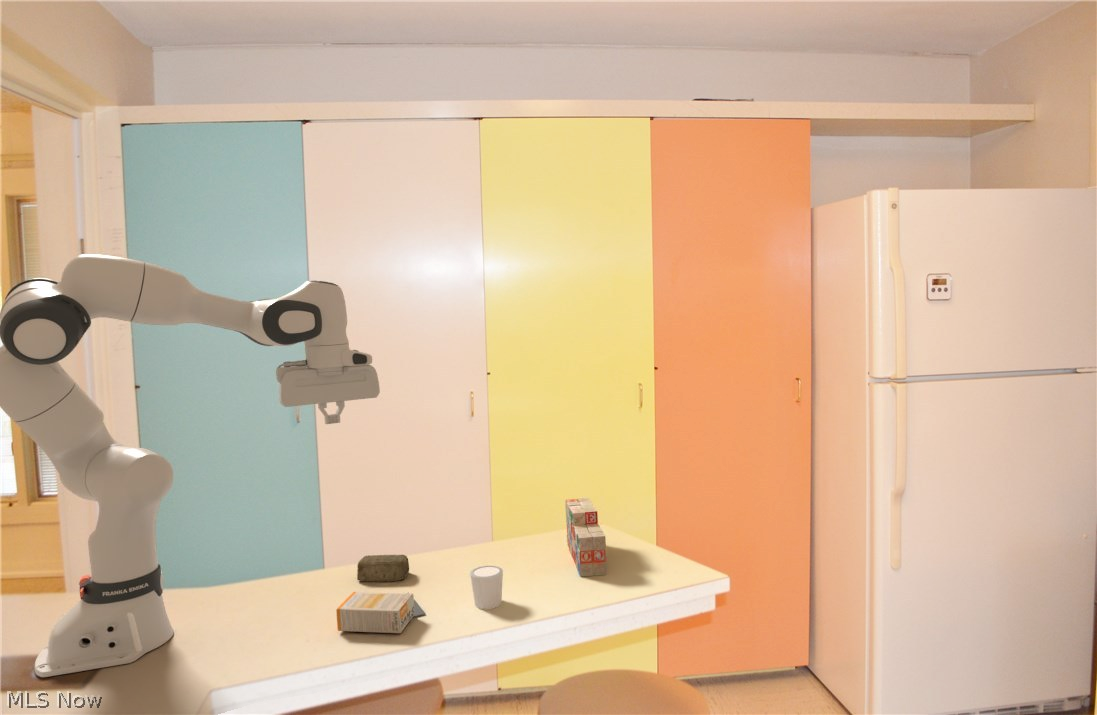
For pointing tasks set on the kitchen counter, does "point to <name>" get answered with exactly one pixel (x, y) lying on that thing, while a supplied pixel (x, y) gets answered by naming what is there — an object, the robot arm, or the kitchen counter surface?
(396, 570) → the stone block
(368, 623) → the supplement box
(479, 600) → the white cup
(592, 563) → the stack of blocks
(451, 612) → the kitchen counter surface
